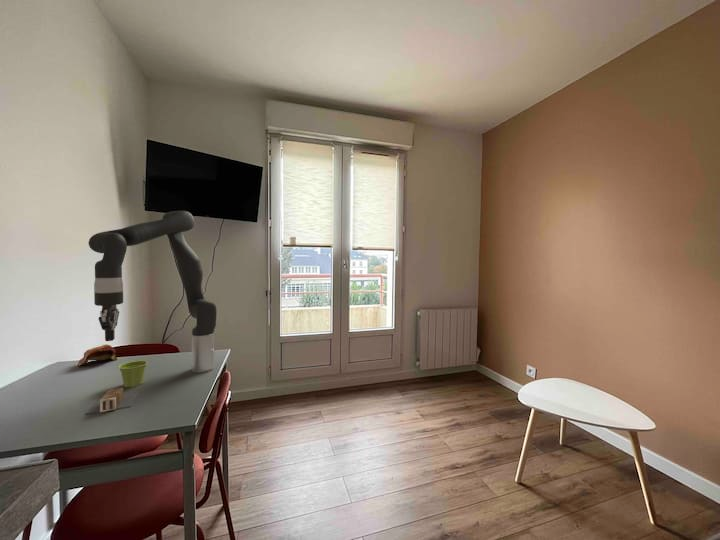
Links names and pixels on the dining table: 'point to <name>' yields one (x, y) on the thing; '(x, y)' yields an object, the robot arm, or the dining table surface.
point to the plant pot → (133, 373)
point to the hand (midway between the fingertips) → (110, 340)
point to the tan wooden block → (111, 399)
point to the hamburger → (98, 354)
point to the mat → (125, 403)
